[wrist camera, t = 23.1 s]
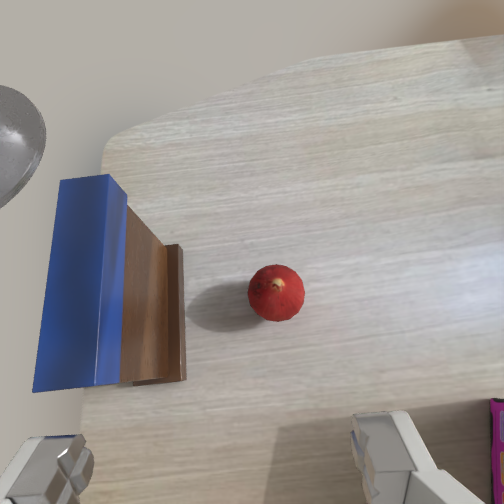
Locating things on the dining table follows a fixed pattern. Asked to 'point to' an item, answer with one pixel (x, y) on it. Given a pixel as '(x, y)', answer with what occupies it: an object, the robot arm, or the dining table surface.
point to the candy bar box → (497, 449)
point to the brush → (109, 295)
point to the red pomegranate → (276, 293)
